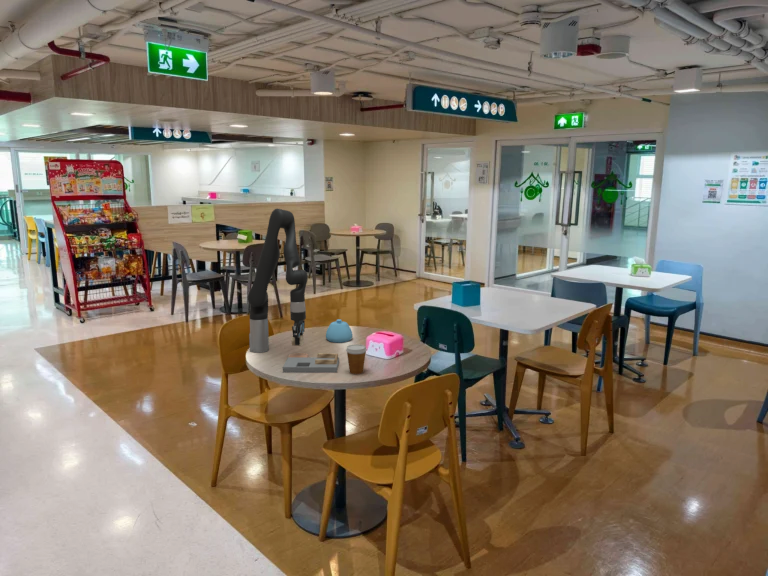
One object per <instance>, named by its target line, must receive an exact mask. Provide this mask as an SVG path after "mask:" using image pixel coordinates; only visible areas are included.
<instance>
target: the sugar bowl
mask: <svg viewBox="0 0 768 576" xmlns="http://www.w3.org/2000/svg"><path fill="white" fill-rule="evenodd" d="M352 338H353V331H352V329H351V327H350V325H349V324H348V322H347V321H342V319H339V318H338V319H336V320H335V321H332V322H330V324H329V325H328V328H327V329H326V333H325V339H326V340H327V341H328V342H329V343H335V344H340V343H341V344H342V343H348V342H350V341H351V340H352Z"/></svg>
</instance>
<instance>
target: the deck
mask: <svg viewBox="0 0 768 576" xmlns="http://www.w3.org/2000/svg"><path fill="white" fill-rule="evenodd" d="M334 359H335V358H317V357H315V356H311V357H309V356H308V357H287V358H286V360H285V362H284V363H283V366H282V373H327V374H328V373H334V374H335V373H338V369H339V365H340V357H338V360H337V364H315V360H334Z"/></svg>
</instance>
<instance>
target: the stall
mask: <svg viewBox="0 0 768 576" xmlns="http://www.w3.org/2000/svg"><path fill="white" fill-rule="evenodd" d="M316 355H317V358H335V359H334V360H315V364H337V360H338V358H339V353H317V354H316Z"/></svg>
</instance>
